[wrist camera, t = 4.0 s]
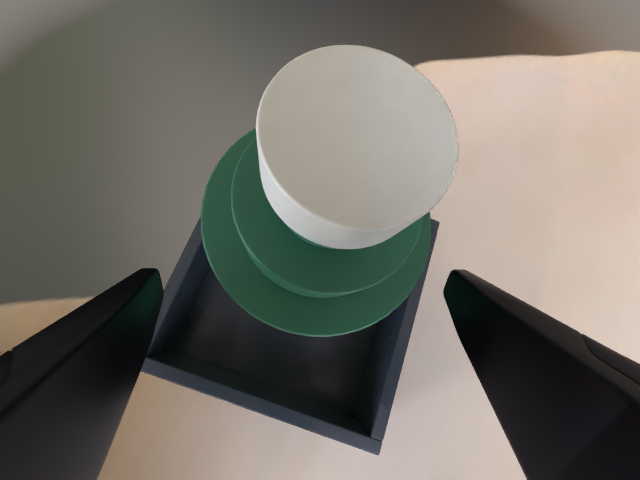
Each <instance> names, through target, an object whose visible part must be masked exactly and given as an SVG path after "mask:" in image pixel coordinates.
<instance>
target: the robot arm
mask: <svg viewBox="0 0 640 480" xmlns="http://www.w3.org/2000/svg"><path fill="white" fill-rule="evenodd" d="M163 296H164V291H163V286H162V282H161V278H160V273H159V271H158V270H157V269H155V268H143V269H140V270H138V271H137V272H135V273H133V274H132V275H131V276H129V277H127V278H125V279H124V280H122V281H120V282H119V283H117V284H116V285H114V286H112V287H111V288H109V289H108V290H106V291H104V292H103V293H101V294H99V295H98V296H96V297H95V298H93V299H91V300H90V301H88V302H87V303H85V304H83V305H82V306H80V307H78V308H77V309H75V310H74V311H72V312H70V313H69V314H67V315H66V316H64V317H62V318H61V319H59V320H57V321H56V322H54V323H53V324H51V325H49V326H48V327H46V328H45V329H43V330H41V331H40V332H38V333H36V334H35V335H33V336H32V337H30V338H28V339H27V340H25V341H23V342H22V343H20V344H19V345H17V346H15V347H14V348H13V349H12V351H7V352H6V353H4V354H2V355H1V356H0V480H97V478H98V475H99V473H100V470H101V468H102V465H103V463H104V461H105V458H106V456H107V453H108V451H109V448H110V446H111V443H112V441H113V438H114V436H115V433H116V431H117V428H118V426H119V423H120V421H121V418H122V416H123V413H124V411H125V408H126V406H127V403H128V401H129V398H130V396H131V393H132V391H133V388H134V386H135V383H136V381H137V378H138V376H139V373H140V371H141V368H142V366H143V363H144V361H145V359H146V356H147V353H148V351H149V348H150V345H151V342H152V339H153V335H154V331H155V327H156V324H157V320H158V316H159V312H160V309H161V305H162V301H163ZM444 298H445V300H446V303H447V306H448V309H449V312H450V314H451V317H452V320H453V323H454V326H455V328H456V331H457V334H458V336H459V338H460V341H461V343H462V345H463V347H464V349H465V351H466V353H467V355H468V358H469V360H470V362H471V364H472V366H473V368H474V370H475V372H476V374H477V376H478V378H479V380H480V382H481V385H482V387H483V389H484V391H485V393H486V395H487V397H488V399H489V401H490V403H491V405H492V407H493V409H494V412H495V414H496V416H497V418H498V420H499V422H500V424H501V426H502V428H503V430H504V432H505V434H506V437H507V439H508V441H509V443H510V445H511V447H512V449H513V451H514V453H515V455H516V457H517V459H518V461H519V464H520V466H521V468H522V470H523V472H524V474H525V476H526V478H527V480H640V364H639V363H637V362H635V361H633V360H631V359H629V358H627V357H625V356H623V355H621V354H619V353H617V352H615V351H613V350H611V349H610V348H608V347H606V346H604V345H602V344H600V343H598V342H596V341H595V340H593V339H591V338H589V337H587V336H586V335H584V334H580V332H578V331H576V330H574V329H573V328H571V327H569V326H567V325H565V324H563V323H562V322H560V321H558V320H556V319H554V318H553V317H551V316H549V315H547V314H545V313H543V312H542V311H540V310H538V309H536V308H534V307H532V306H531V305H529V304H527V303H525V302H523V301H521V300H520V299H518V298H516V297H514V296H512V295H511V294H509V293H507V292H505V291H503V290H501V289H500V288H498V287H496V286H494V285H492V284H490V283H489V282H487V281H485V280H483V279H481V278H479V277H478V276H476V275H474V274H472V273H470V272H468V271H467V270H452V271H451V272H450V274H449V277H448V279H447V282H446V285H445V287H444Z"/></svg>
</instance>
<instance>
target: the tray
mask: <svg viewBox="0 0 640 480" xmlns="http://www.w3.org/2000/svg"><path fill="white" fill-rule="evenodd" d="M430 220H431V240H430V247H429V252H428V257H427V260H426V263H425V266H424V269H423V272H422V274H421V276H420V278H419V280H418V282H417V284H416V285H415V287H414V288H413V290H412V291H411V292H410V294H409V295H408V297H407V298H406V299H405V300H404V301H403V302H402V303H401V304H400V305H399V306H398V307H397V308H396V309H395V310H394V311H392V312H391V313H390V314H389V315H388V316H386V317H385V318H383V319H381V320H380V321H378V322H376V323H375V324H373V325H371V326H368V327H366V328H364V329H361V330H359V331H355V332H352V333H348V334H344V335H337V336H330V337H311V336H304V335H297V334H293V333H289V332H286V331H282V330H279V329H277V328H274V327H272V326H270V325H268V324H266V323H263V322H262V321H260V320H259V319H257V318H255V317H254V316H252V315H251V314H249V313H248V312H247V311H245V310H244V309H243V308H242V307H241V306H240V305H238V304H237V303H236V302H235V301H234V300H233V299H232V298H231V296H230V295H229V294H228V293H227V292H226V291H225V290H224V288H223V287H222V285H221V284H220V282H219V281H218V279H217V278H216V276H215V274H214V272H213V270H212V268H211V266H210V264H209V261H208V258H207V255H206V252H205V249H204V245H203V239H202V233H201V217H200V219H199V221H198V223H197V225H196V227H195V229H194V231H193V233H192V235H191V237H190V239H189V241H188V243H187V245H186V247H185V249H184V251H183V253H182V255H181V257H180V259H179V261H178V263H177V265H176V267H175V269H174V271H173V273H172V275H171V277H170V279H169V281H168V283H167V285H166V287H165V289H164V296H163V301H162V305H161V309H160V312H159V316H158V320H157V324H156V327H155V331H154V335H153V339H152V342H151V345H150V348H149V351H148V353H147V356H146V359H145V361H144V363H143V366H142V368H141V371H142V372H144V373H147V374H150V375H153V376H156V377H159V378H161V379H164V380H167V381H170V382H173V383H175V384H178V385H181V386H184V387H187V388H190V389H192V390H195V391H198V392H201V393H204V394H206V395H209V396H212V397H215V398H218V399H221V400H223V401H226V402H229V403H232V404H235V405H237V406H240V407H243V408H246V409H249V410H252V411H254V412H257V413H260V414H263V415H266V416H269V417H271V418H274V419H277V420H280V421H283V422H285V423H288V424H291V425H294V426H297V427H300V428H302V429H305V430H308V431H311V432H314V433H316V434H319V435H322V436H325V437H328V438H331V439H333V440H336V441H339V442H342V443H345V444H347V445H350V446H353V447H356V448H359V449H362V450H364V451H367V452H370V453H373V454H376V455H379V452H380V449H381V445H382V441H383V438H384V434H385V430H386V426H387V423H388V419H389V415H390V411H391V407H392V403H393V400H394V396H395V392H396V388H397V384H398V380H399V377H400V373H401V369H402V365H403V361H404V357H405V354H406V350H407V346H408V342H409V338H410V334H411V331H412V327H413V323H414V319H415V315H416V311H417V308H418V304H419V300H420V296H421V292H422V288H423V285H424V281H425V277H426V273H427V269H428V265H429V262H430V258H431V254H432V250H433V246H434V242H435V239H436V235H437V231H438V227H439V222H438V221H435V220H433V219H430Z"/></svg>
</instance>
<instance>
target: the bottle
mask: <svg viewBox="0 0 640 480" xmlns="http://www.w3.org/2000/svg"><path fill="white" fill-rule="evenodd" d="M457 160H458V136H457V131H456V127H455V123H454V120H453V117H452V115H451V112H450V110H449V108H448V106H447V104H446V102H445V100H444V99H443V97H442V96H441V94H440V93H439V91H438V90H437V89H436V88H435V87H434V85H433V84H432V83H431V82H430V81H429V80H428V79H427V78H426V77H425V76H424V75H423V74H422V73H420V72H419V71H418V70H417V69H415V68H414V67H413V66H411V65H410V64H408V63H406V62H405V61H403V60H401V59H400V58H397V57H395V56H393V55H391V54H389V53H386V52H383V51H380V50H377V49H373V48H369V47H364V46H357V45H335V46H328V47H322V48H318V49H315V50H312V51H309V52H307V53H305V54H303V55H301V56H299V57H297V58H295V59H294V60H292V61H291V62H289V63H288V64H286V65H285V66H284V67H283V68H282V69H281V70H280V71H279V72H278V73H277V74H276V75H275V77H274V78H273V79H272V80H271V82H270V83H269V85H268V87H267V88H266V90H265V92H264V94H263V96H262V99H261V101H260V104H259V108H258V112H257V120H256V128H255V129H253V130H252V131H250V132H249V133H247V134H246V135H244V136H243V137H242V138H240V139H239V140H238V141H237V142H236V143H235V144H234V145H233V146H231V147H230V148H229V150H228V151H227V152H226V153H225V155H224V156H223V157H222V158H221V160H220V161H219V162H218V164H217V166H216V167H215V169H214V171H213V173H212V174H211V177H210V179H209V182H208V184H207V186H206V190H205V194H204V197H203V201H202V210H201V233H202V239H203V245H204V249H205V252H206V255H207V258H208V261H209V264H210V266H211V268H212V270H213V272H214V274H215V276H216V278H217V279H218V281H219V282H220V284H221V285H222V287H223V288H224V290H225V291H226V292H227V293H228V294H229V295H230V296H231V298H232V299H233V300H234V301H235V302H236V303H237V304H238V305H240V306H241V307H242V308H243V309H244V310H245V311H247V312H248V313H249V314H251V315H252V316H254V317H255V318H257V319H259V320H260V321H262V322H263V323H266V324H268V325H270V326H272V327H274V328H277V329H279V330H282V331H286V332H289V333H293V334H297V335H304V336H311V337H330V336H337V335H344V334H348V333H352V332H355V331H359V330H361V329H364V328H366V327H368V326H371V325H373V324H375V323H376V322H378V321H380V320H381V319H383V318H385V317H386V316H388V315H389V314H390V313H391V312H392V311H394V310H395V309H396V308H397V307H398V306H399V305H400V304H401V303H402V302H403V301H404V300H405V299H406V298H407V297H408V295H409V294H410V292H411V291H412V290H413V288H414V287H415V285H416V284H417V282H418V280H419V278H420V276H421V274H422V272H423V269H424V266H425V263H426V260H427V257H428V252H429V247H430V240H431V220H430V212H429V211H430V210H431V209H432V208H433V207H434V206H435V205H436V204H437V203H438V202H439V201H440V200H441V199H442V197H443V196H444V194H445V193H446V192H447V190H448V188H449V186H450V184H451V182H452V179H453V176H454V173H455V170H456V166H457Z"/></svg>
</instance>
